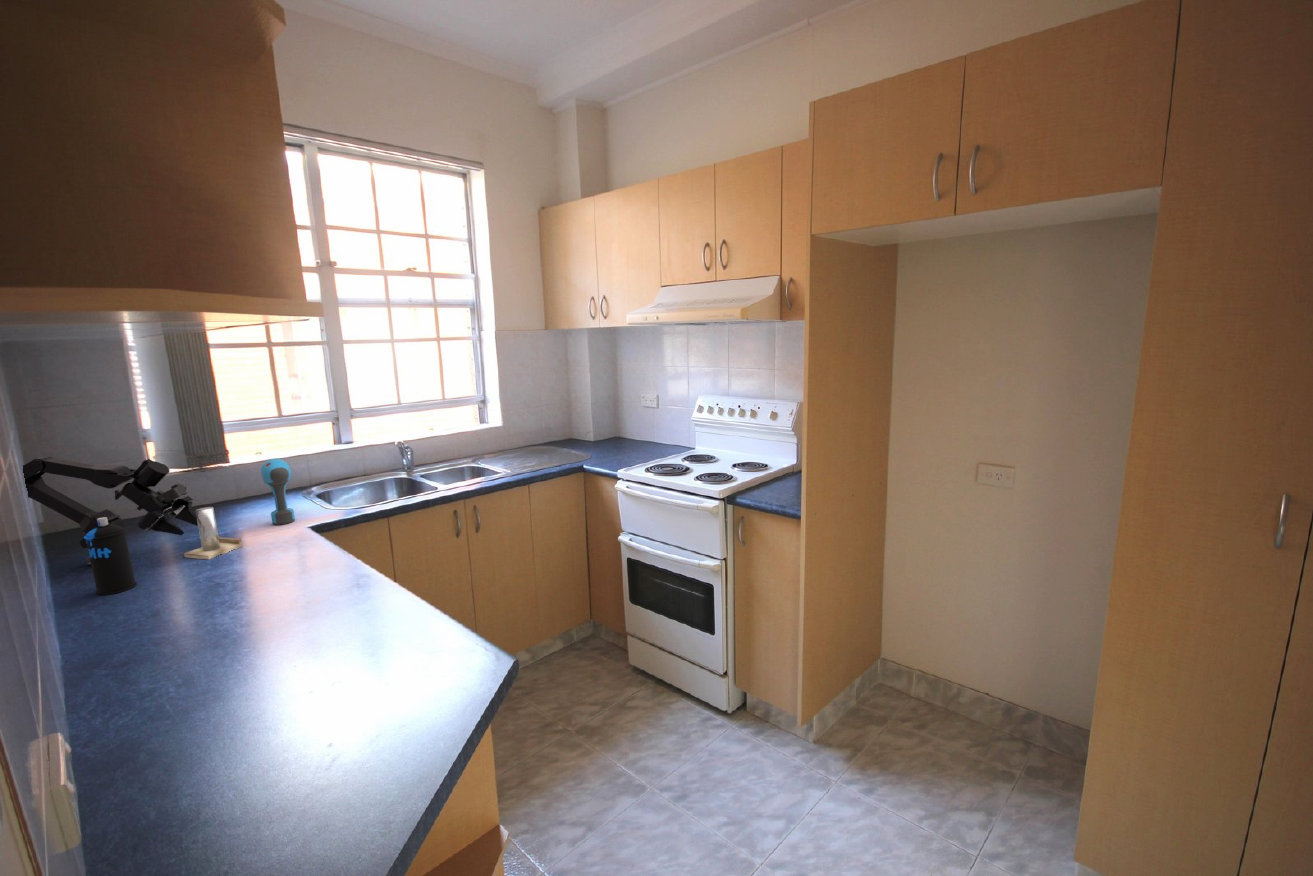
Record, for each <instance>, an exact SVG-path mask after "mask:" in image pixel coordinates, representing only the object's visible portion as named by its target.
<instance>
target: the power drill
mask: <svg viewBox="0 0 1313 876" xmlns="http://www.w3.org/2000/svg"><path fill="white" fill-rule="evenodd" d="M260 474H261V476H262V480H263V482H264V484H265V485H266V486H268V487H270V489H271V491H272V494H273V498H274V504H275V510H273V511H271V512H270V518H271V522H272V524H273V525H275V526H281V525H282V526H283V525H286V524H291V523H293V522H294V521H296V517H295V510H294V509H293V508H291V507H290V508H289V507H288V503H287V497H286V487H287V484H288V483H289V482H290V481H291V480H290V479H291V476H292V470H291V468H290V465H289V463H287V462H286V461H285V460H283V459H279V458H270V459H268V460H266V461H265V462H263V463H262V465H261V467H260Z"/></svg>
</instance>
